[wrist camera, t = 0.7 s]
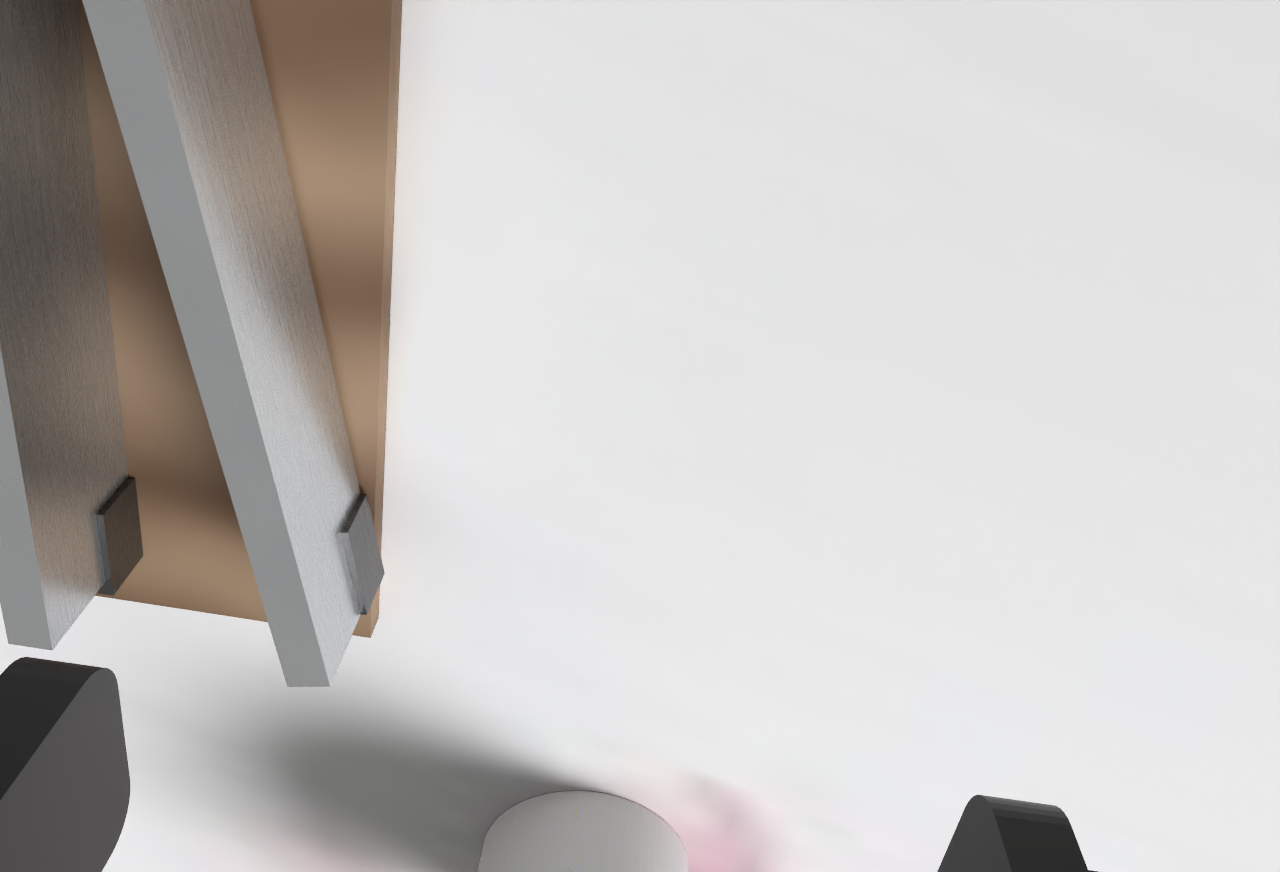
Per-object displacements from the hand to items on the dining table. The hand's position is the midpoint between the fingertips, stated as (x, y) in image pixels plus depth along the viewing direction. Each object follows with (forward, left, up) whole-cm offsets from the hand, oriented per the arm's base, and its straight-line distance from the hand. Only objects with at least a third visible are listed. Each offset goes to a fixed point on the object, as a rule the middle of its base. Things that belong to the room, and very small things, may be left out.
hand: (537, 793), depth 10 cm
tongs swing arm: (+4, -9, -19) cm, 22 cm away
